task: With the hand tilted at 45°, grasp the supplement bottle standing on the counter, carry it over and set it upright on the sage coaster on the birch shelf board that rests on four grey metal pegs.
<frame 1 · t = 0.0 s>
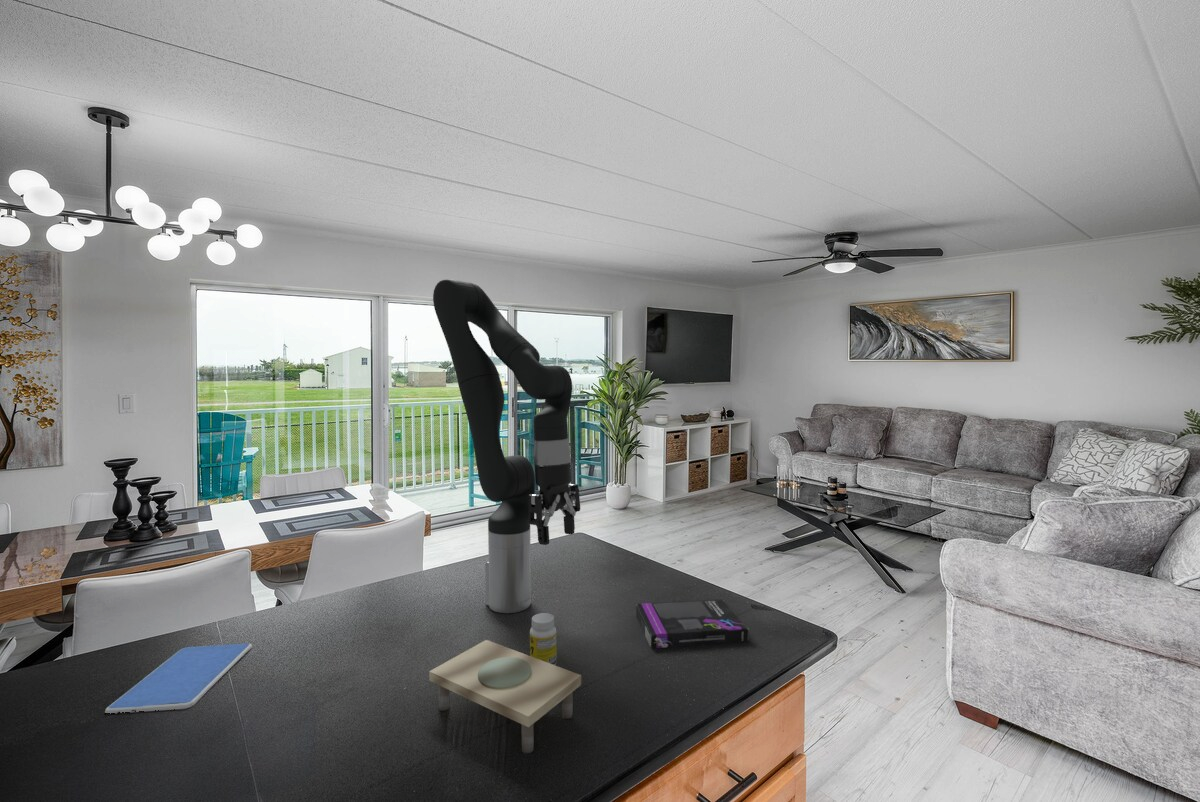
hand: (557, 538, 114), 17 cm above the counter, tool pointing down, fingers open, 8 cm apart
box: (689, 631, 111), on the counter
shelf stand: (505, 711, 84), on the counter
supplement bottle: (543, 664, 98), on the counter
tablet computer: (186, 680, 93), on the counter
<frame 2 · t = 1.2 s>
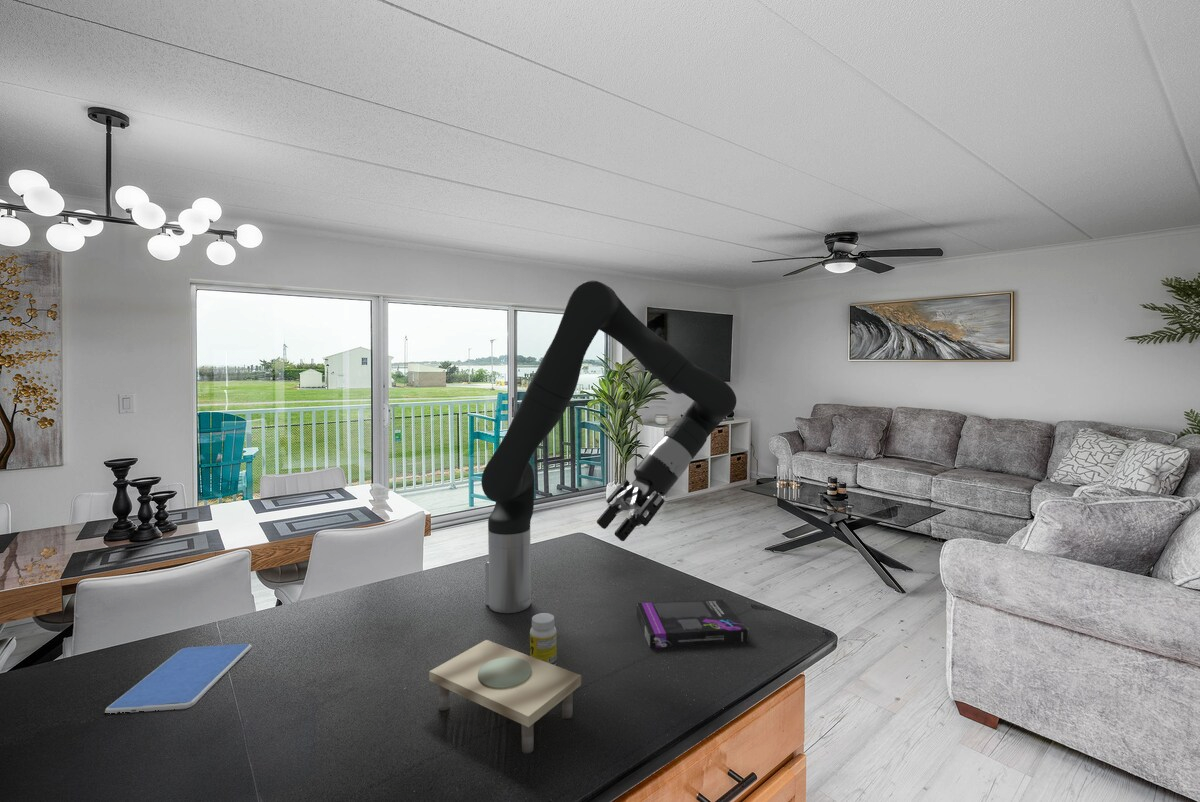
hand: (608, 531, 101), 22 cm above the counter, tool tilted 45°, fingers open, 8 cm apart
nothing on the counter moved.
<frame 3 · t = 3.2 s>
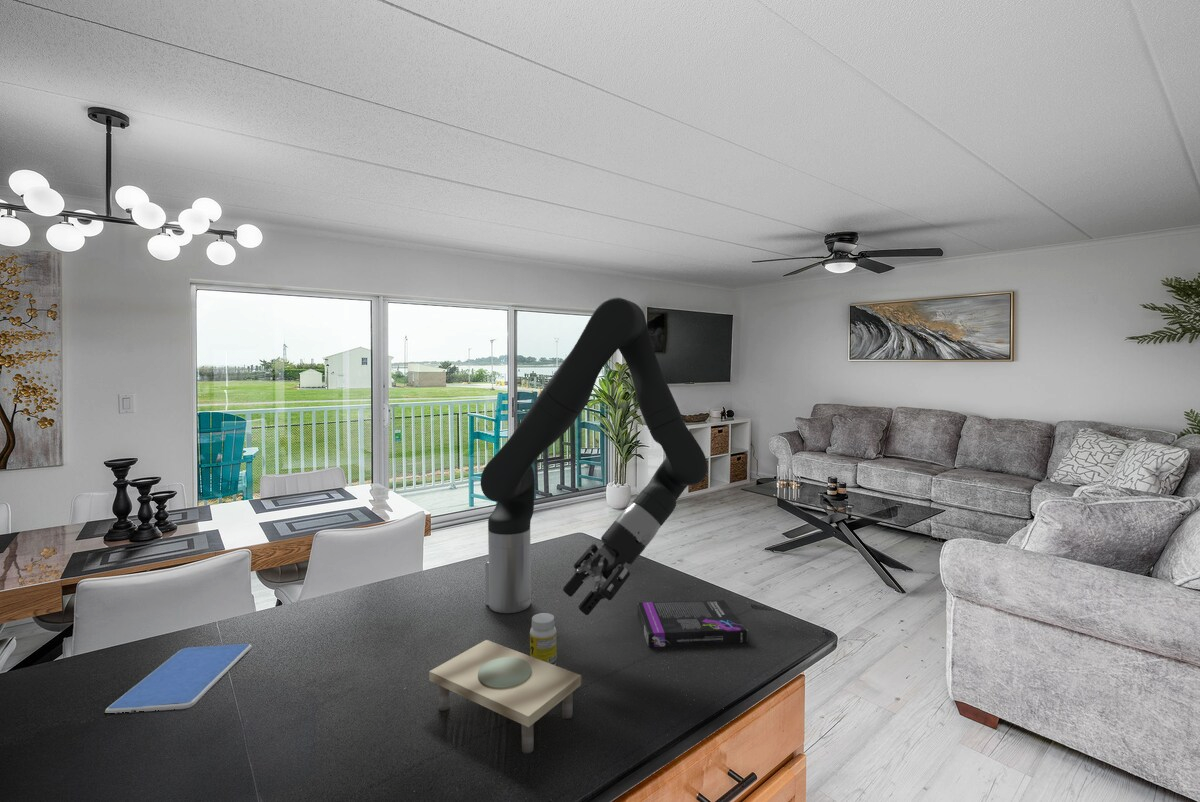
hand: (574, 602, 99), 10 cm above the counter, tool tilted 45°, fingers open, 8 cm apart
nothing on the counter moved.
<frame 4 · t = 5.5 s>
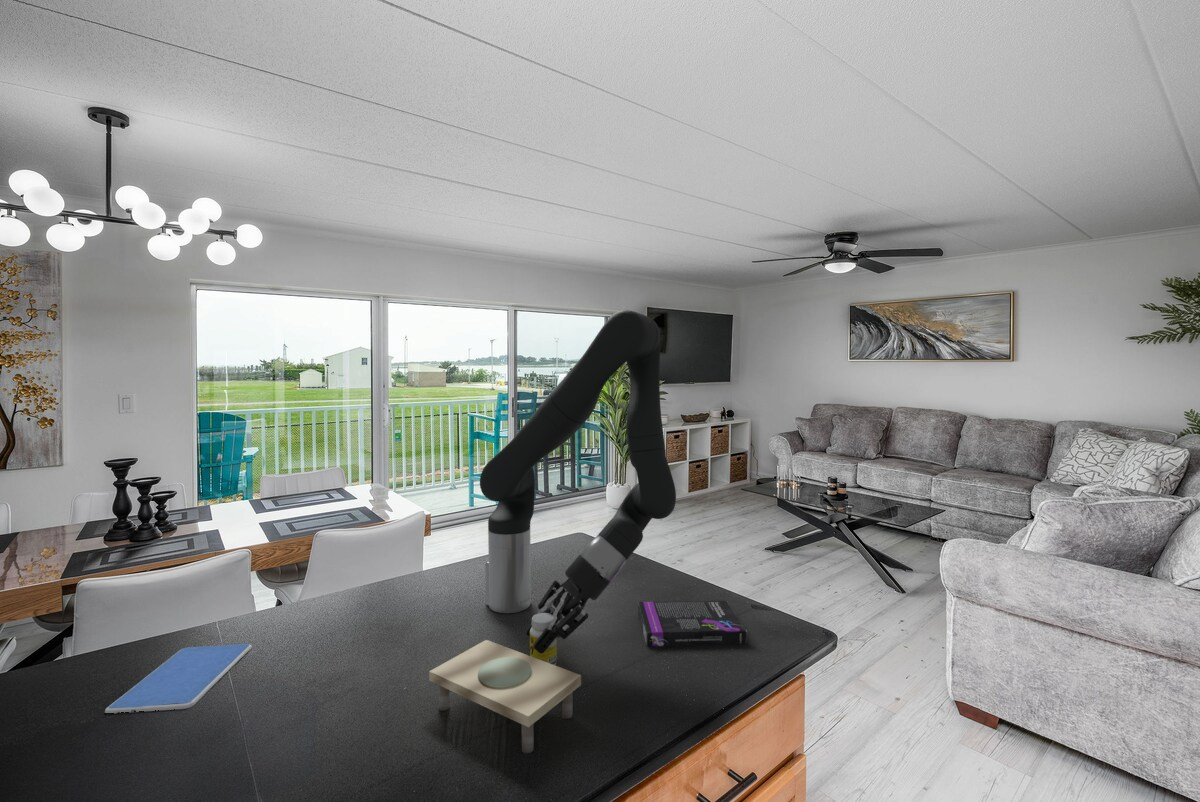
hand: (533, 642, 97), 4 cm above the counter, tool tilted 45°, fingers closed on supplement bottle, 4 cm apart
supplement bottle: (543, 664, 98), on the counter, touching gripper
everything else where it was.
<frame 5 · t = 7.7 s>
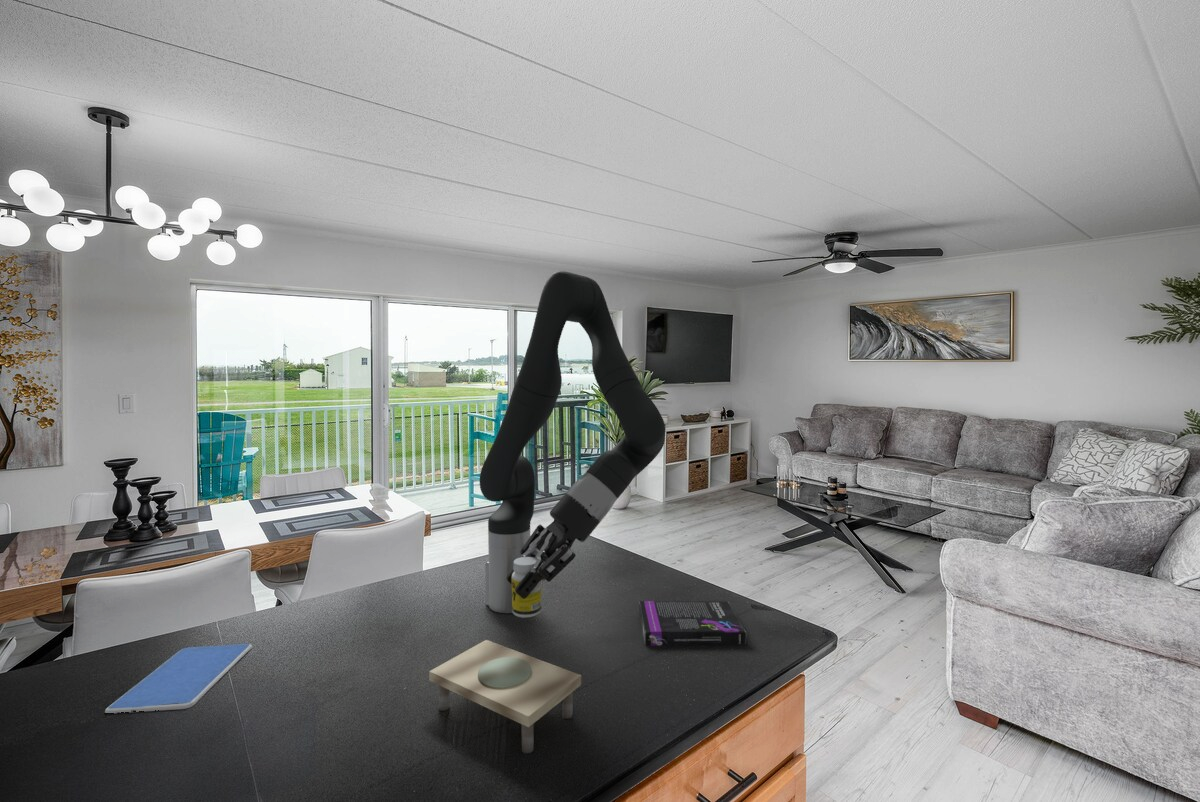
hand: (514, 588, 88), 17 cm above the counter, tool tilted 45°, fingers closed on supplement bottle, 4 cm apart
supplement bottle: (526, 612, 89), point 13 cm above the counter, touching gripper
everything else where it was.
when the fingers open (12 cm above the counter, at t = 9.9 s): supplement bottle drops 1 cm, resting on shelf stand.
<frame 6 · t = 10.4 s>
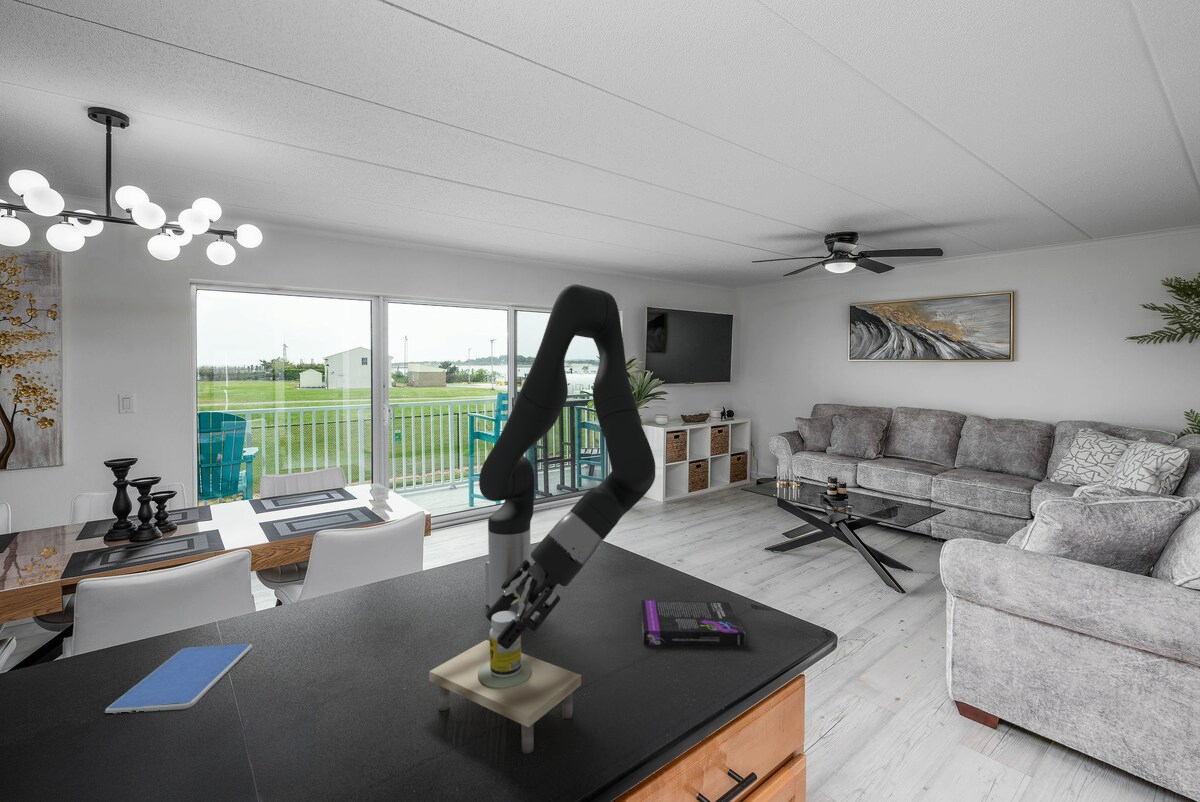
hand: (495, 632, 83), 13 cm above the counter, tool tilted 45°, fingers open, 8 cm apart
supplement bottle: (506, 671, 84), point 6 cm above the counter, touching shelf stand
everything else where it was.
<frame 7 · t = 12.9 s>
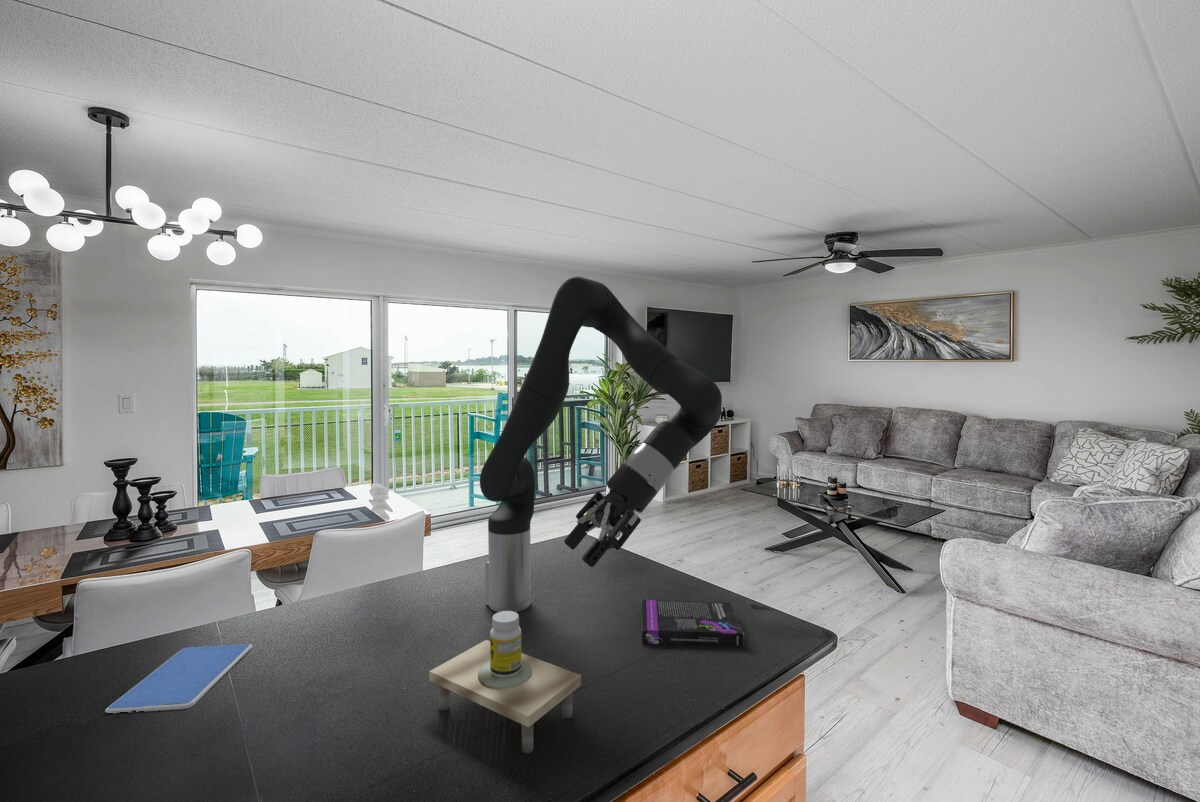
hand: (576, 554, 87), 23 cm above the counter, tool tilted 45°, fingers open, 8 cm apart
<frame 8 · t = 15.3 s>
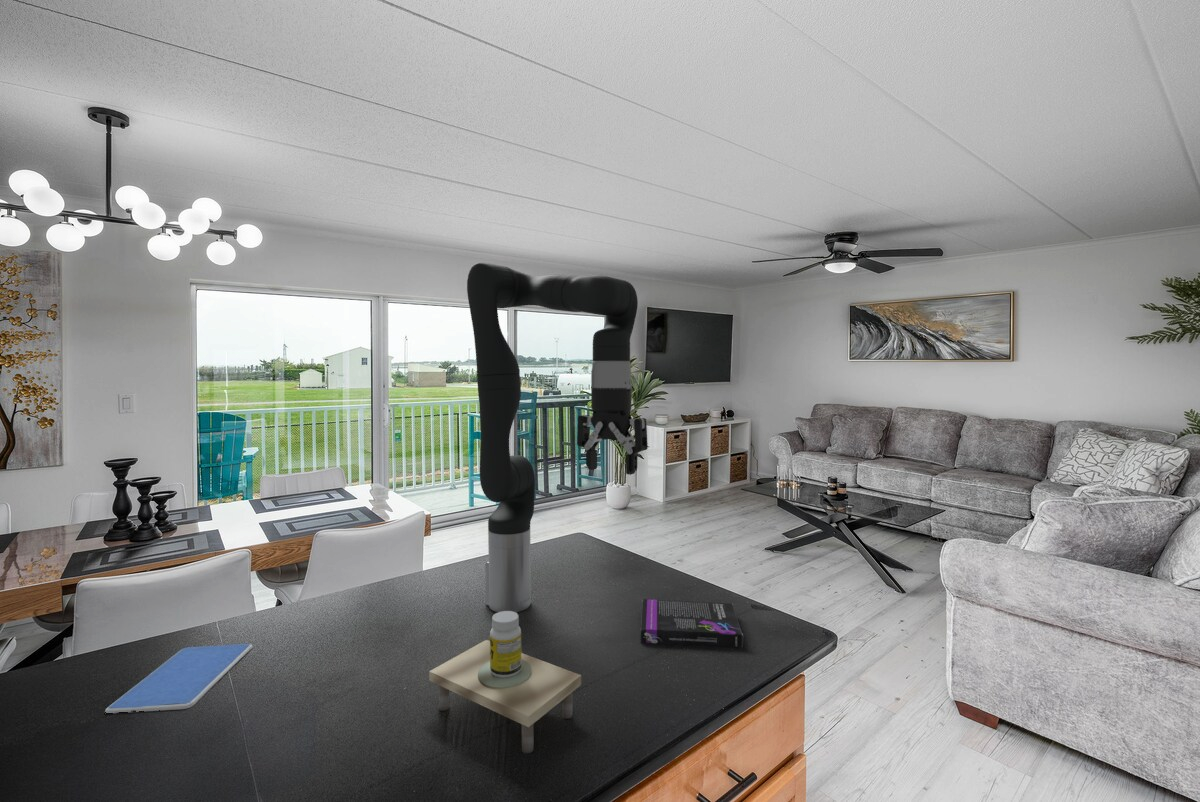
hand: (611, 471, 103), 33 cm above the counter, tool pointing down, fingers open, 8 cm apart
at the end: supplement bottle inside the target area on the shelf stand (0.2 cm from its centre), point 6.2 cm above the shelf stand's base; supplement bottle tilted 0°; the gripper is holding nothing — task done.
